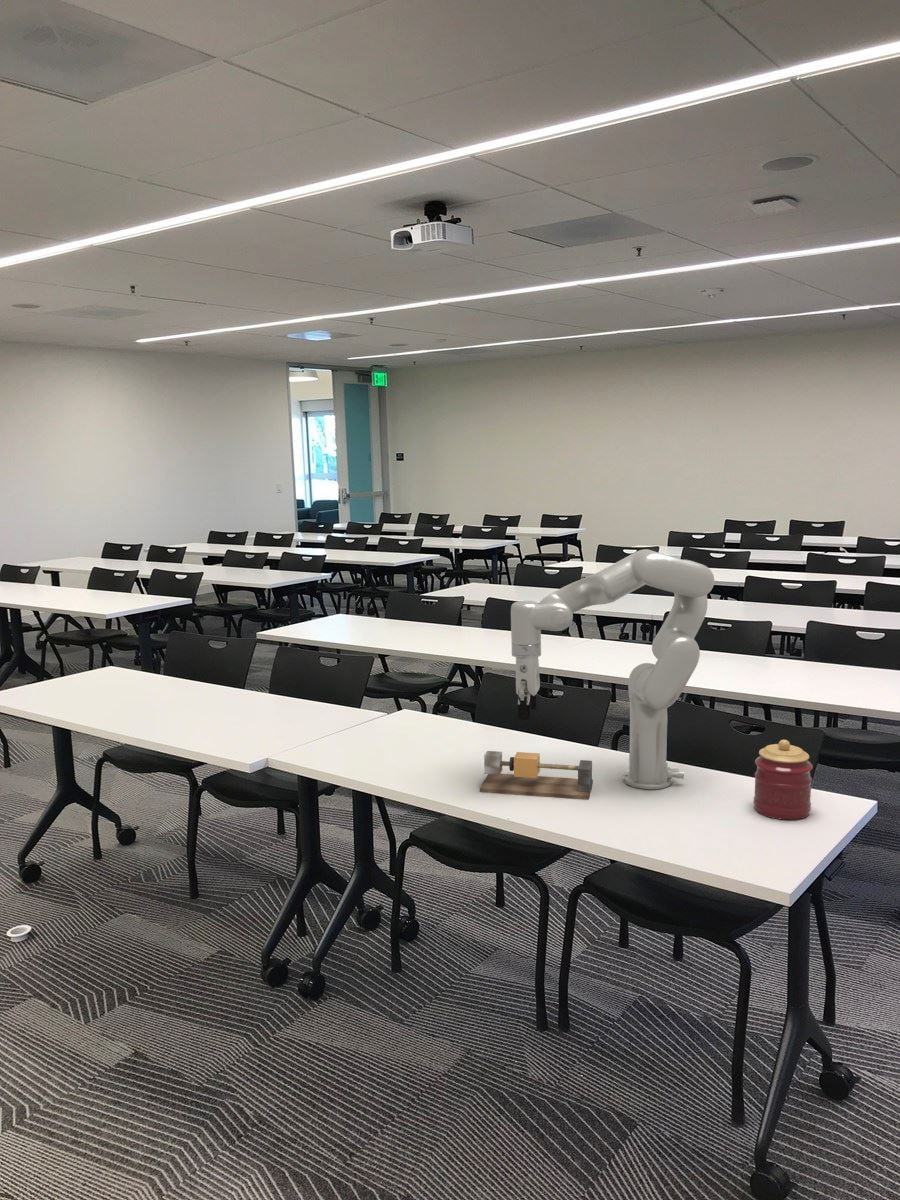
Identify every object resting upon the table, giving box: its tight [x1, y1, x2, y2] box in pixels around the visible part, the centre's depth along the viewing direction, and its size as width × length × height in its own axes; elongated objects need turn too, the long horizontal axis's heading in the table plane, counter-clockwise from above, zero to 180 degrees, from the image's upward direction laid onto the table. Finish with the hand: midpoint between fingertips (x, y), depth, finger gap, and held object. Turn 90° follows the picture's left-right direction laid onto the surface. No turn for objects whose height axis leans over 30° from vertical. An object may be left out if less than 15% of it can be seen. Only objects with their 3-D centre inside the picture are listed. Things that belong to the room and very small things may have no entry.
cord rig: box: [479, 750, 594, 801], centre depth 235 cm, size 28×12×8 cm, turn 76°
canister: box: [753, 739, 813, 820], centre depth 216 cm, size 13×13×18 cm
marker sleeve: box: [513, 751, 541, 778], centre depth 235 cm, size 6×5×5 cm
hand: (527, 714), depth 233 cm, fingers open, 9 cm apart
